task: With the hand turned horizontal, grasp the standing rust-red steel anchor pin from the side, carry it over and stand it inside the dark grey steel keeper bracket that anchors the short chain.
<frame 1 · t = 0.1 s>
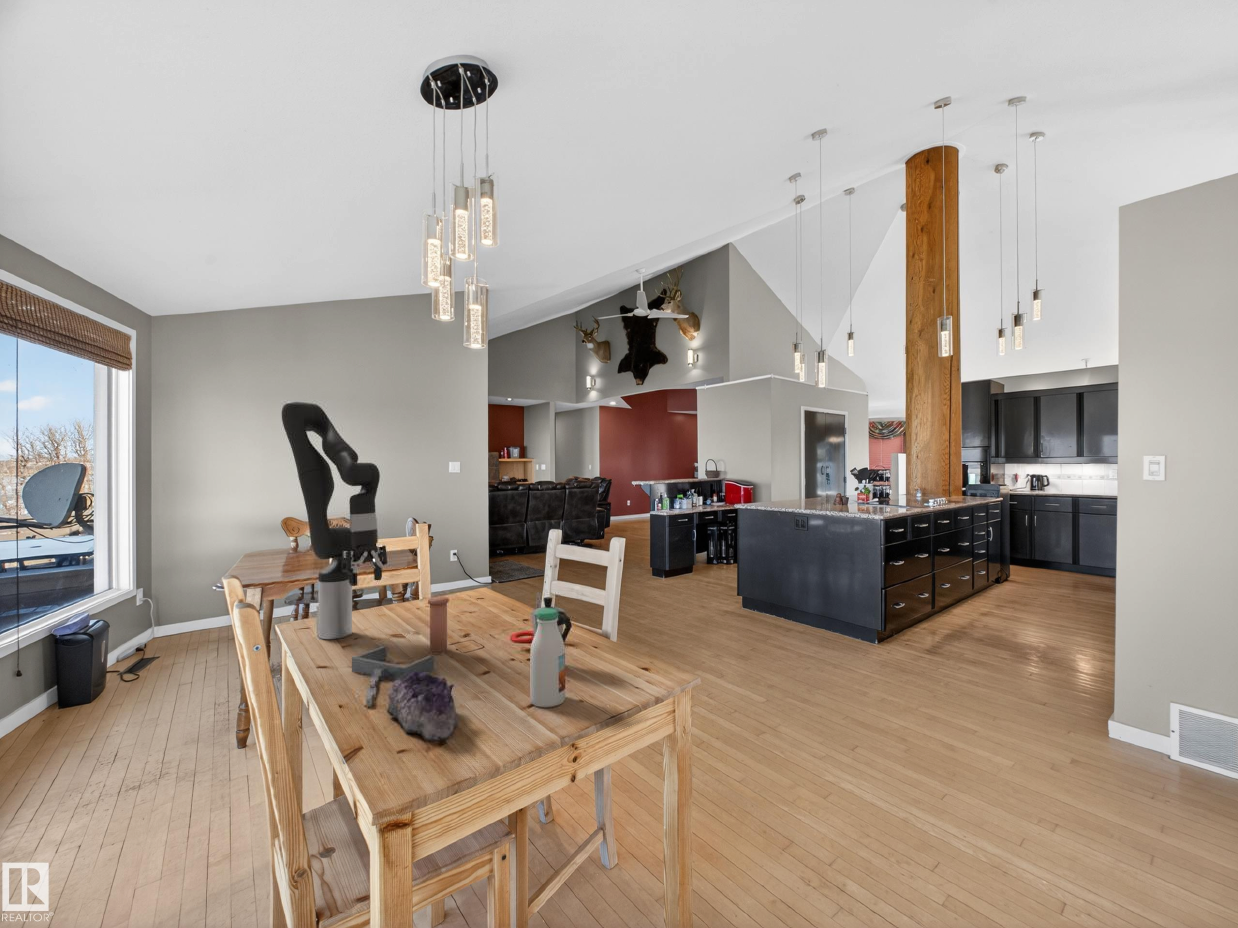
hand: (366, 583, 164), 17 cm above the table, fingers open, 8 cm apart
coffee maker: (551, 669, 141), on the table
keeper bracket: (393, 670, 140), on the table
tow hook: (526, 639, 166), on the table
chain: (374, 682, 133), on the table
milk bottle: (547, 701, 121), on the table
anchor pin: (438, 651, 155), on the table
geode: (427, 723, 112), on the table
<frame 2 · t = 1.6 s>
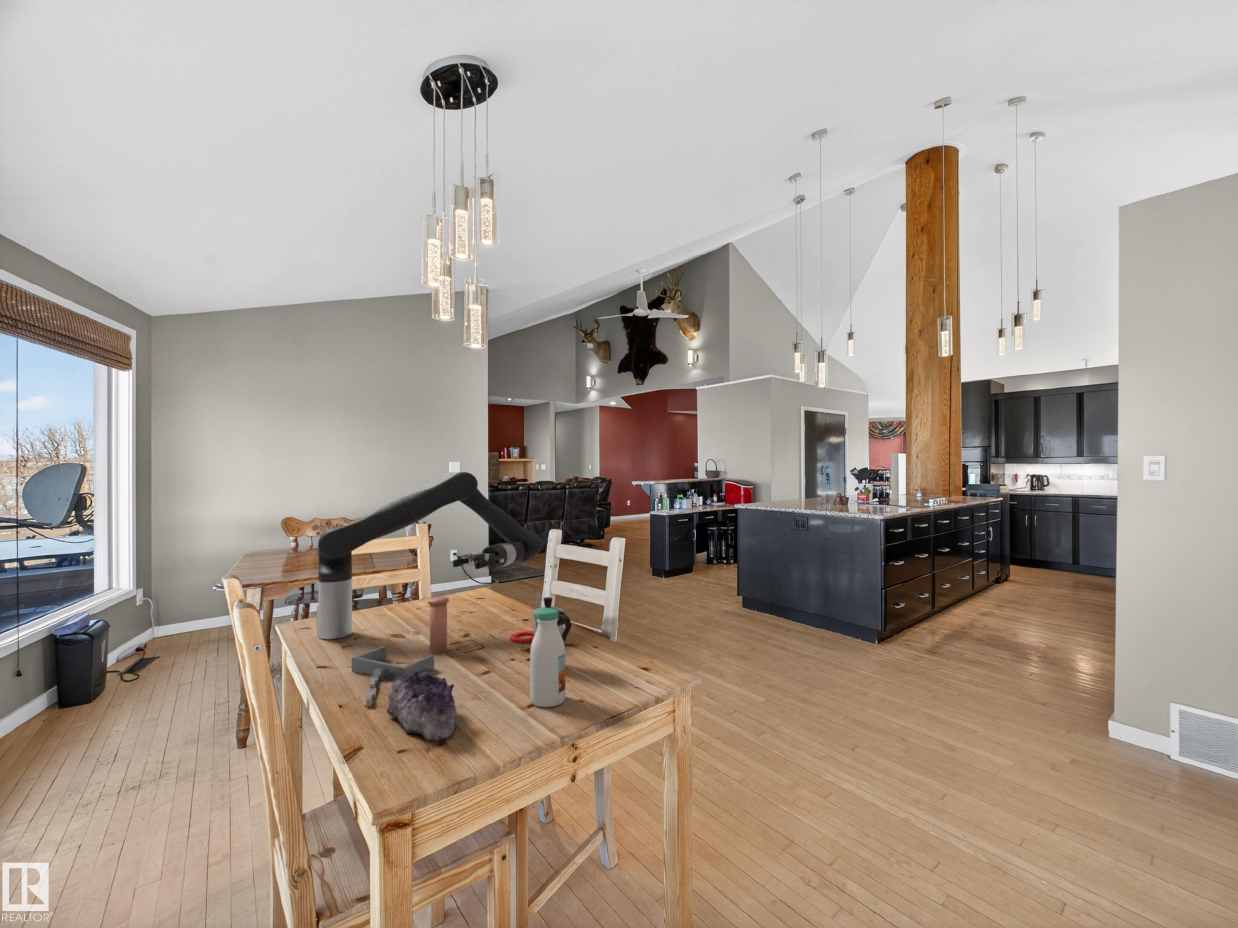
hand: (464, 564, 164), 23 cm above the table, fingers open, 8 cm apart
nothing on the table moved.
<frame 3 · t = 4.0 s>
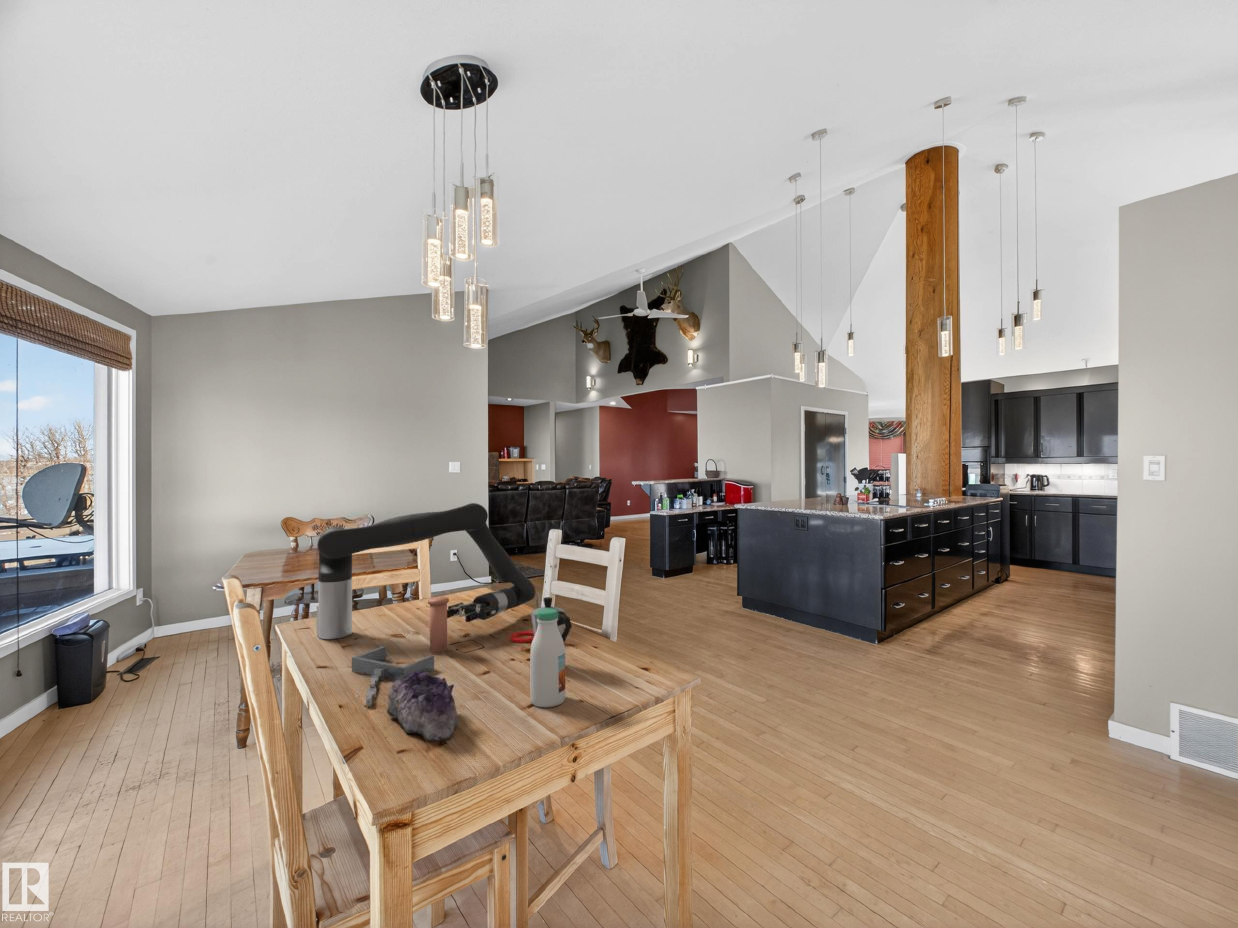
hand: (455, 617, 161), 8 cm above the table, fingers open, 8 cm apart
nothing on the table moved.
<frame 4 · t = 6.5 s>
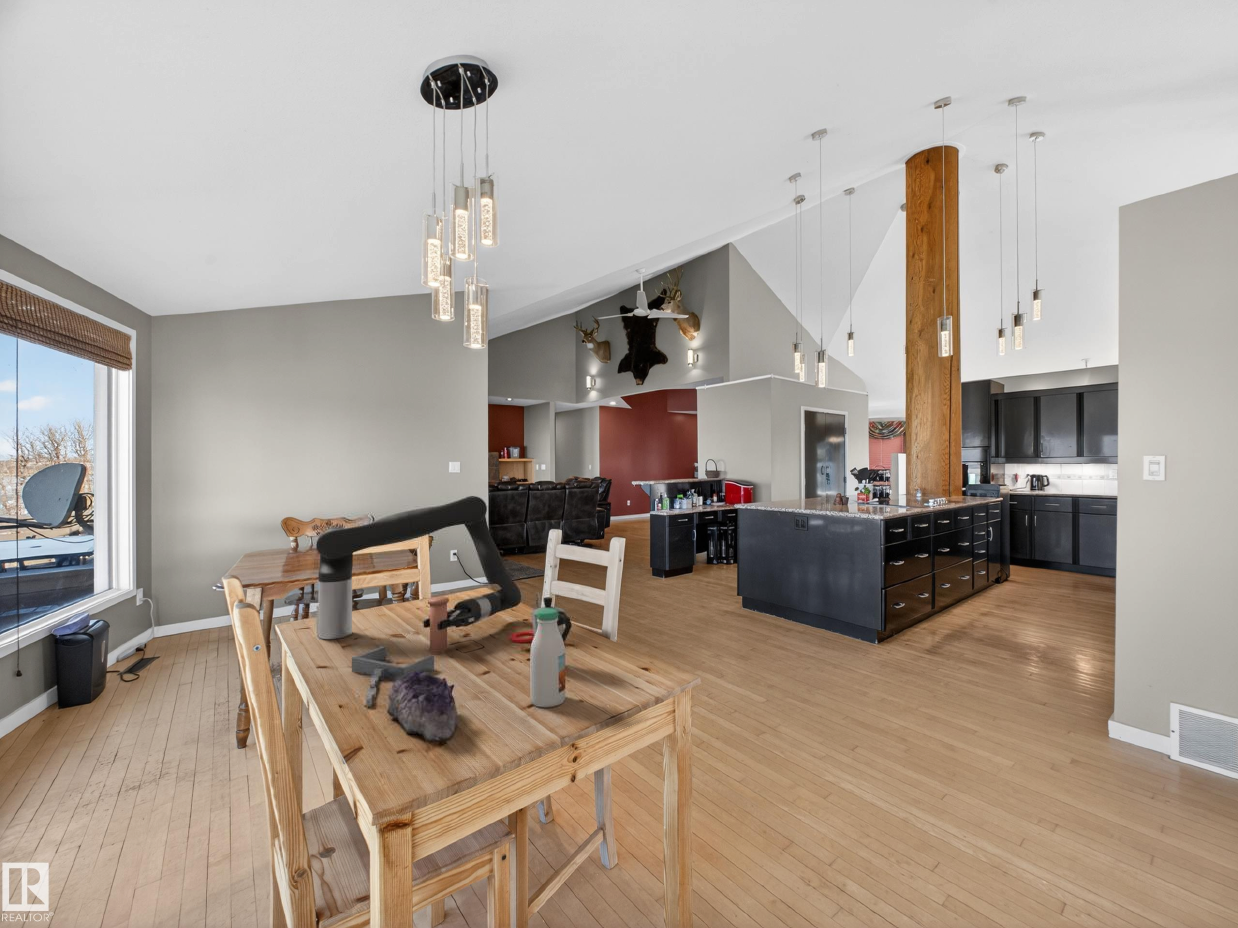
hand: (431, 625, 152), 8 cm above the table, fingers closed on anchor pin, 4 cm apart
anchor pin: (438, 651, 155), on the table, touching gripper
everything else where it was.
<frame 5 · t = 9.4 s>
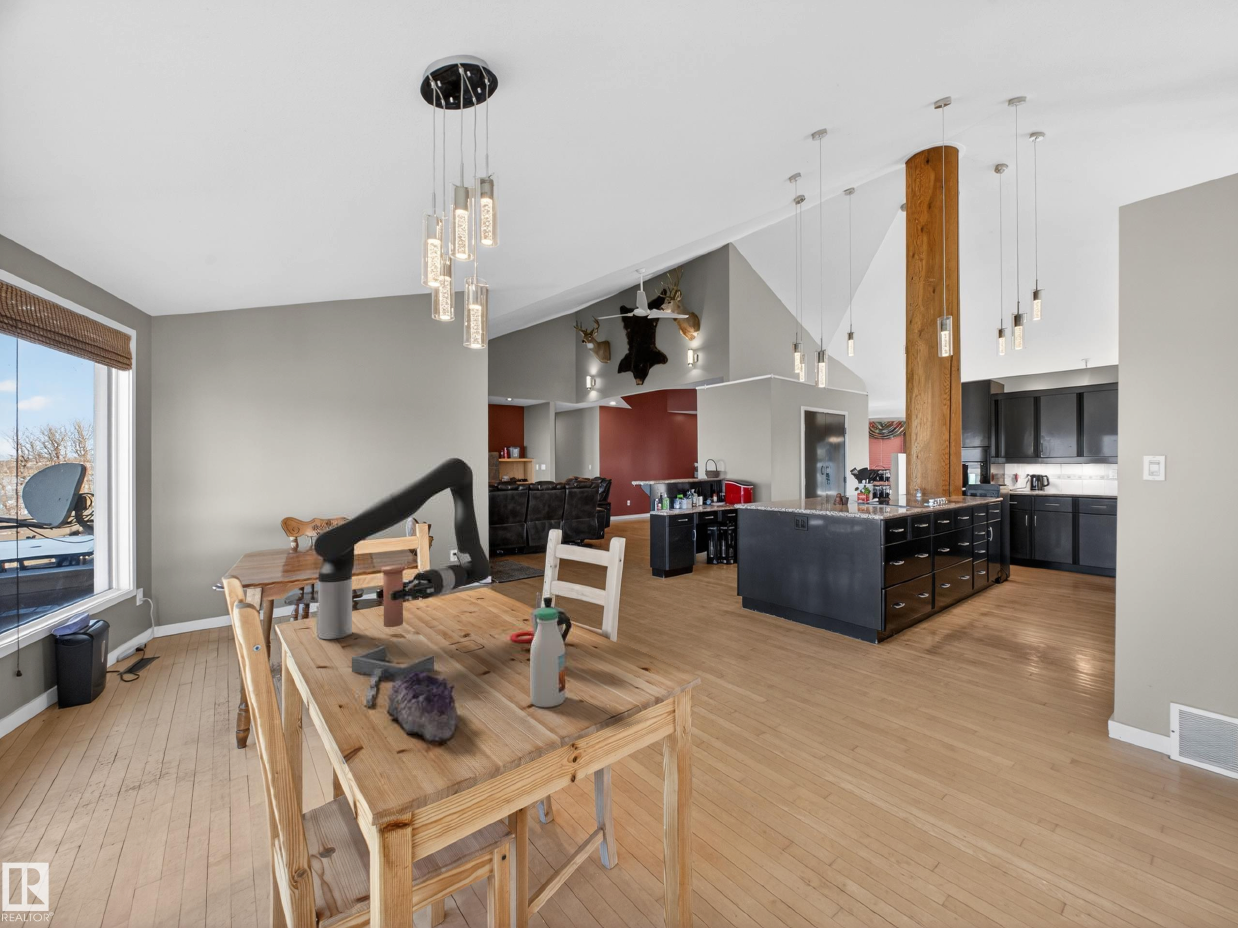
hand: (384, 595, 138), 20 cm above the table, fingers closed on anchor pin, 4 cm apart
anchor pin: (393, 624, 140), point 12 cm above the table, touching gripper
everything else where it was.
when the fingers open (10 cm above the table, at t = 12.0 s): anchor pin drops 2 cm, on the table.
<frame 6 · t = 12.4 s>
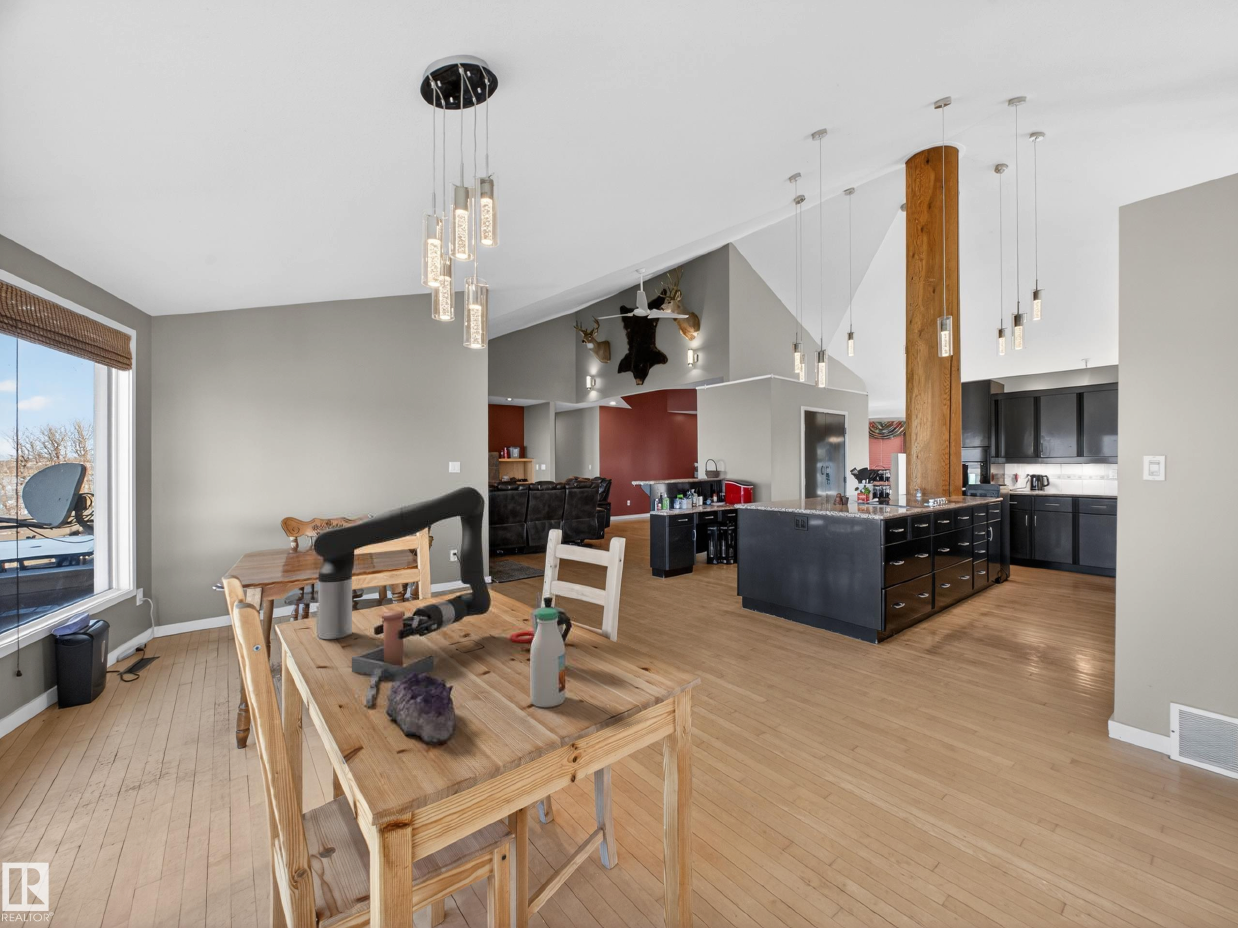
hand: (387, 633, 139), 10 cm above the table, fingers open, 8 cm apart
anchor pin: (393, 670, 140), on the table
everything else where it was.
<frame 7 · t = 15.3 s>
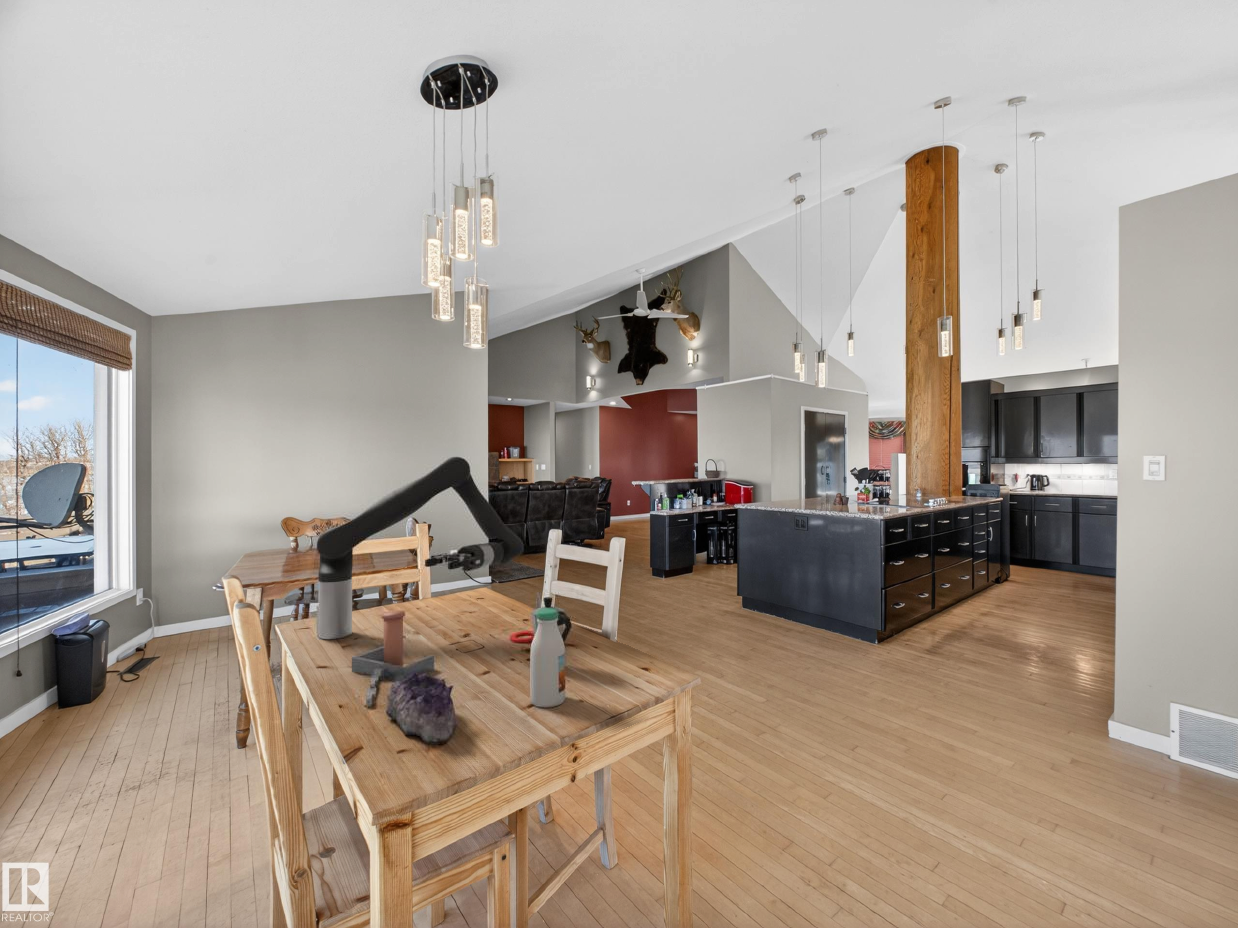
hand: (437, 564, 155), 24 cm above the table, fingers open, 8 cm apart
nothing on the table moved.
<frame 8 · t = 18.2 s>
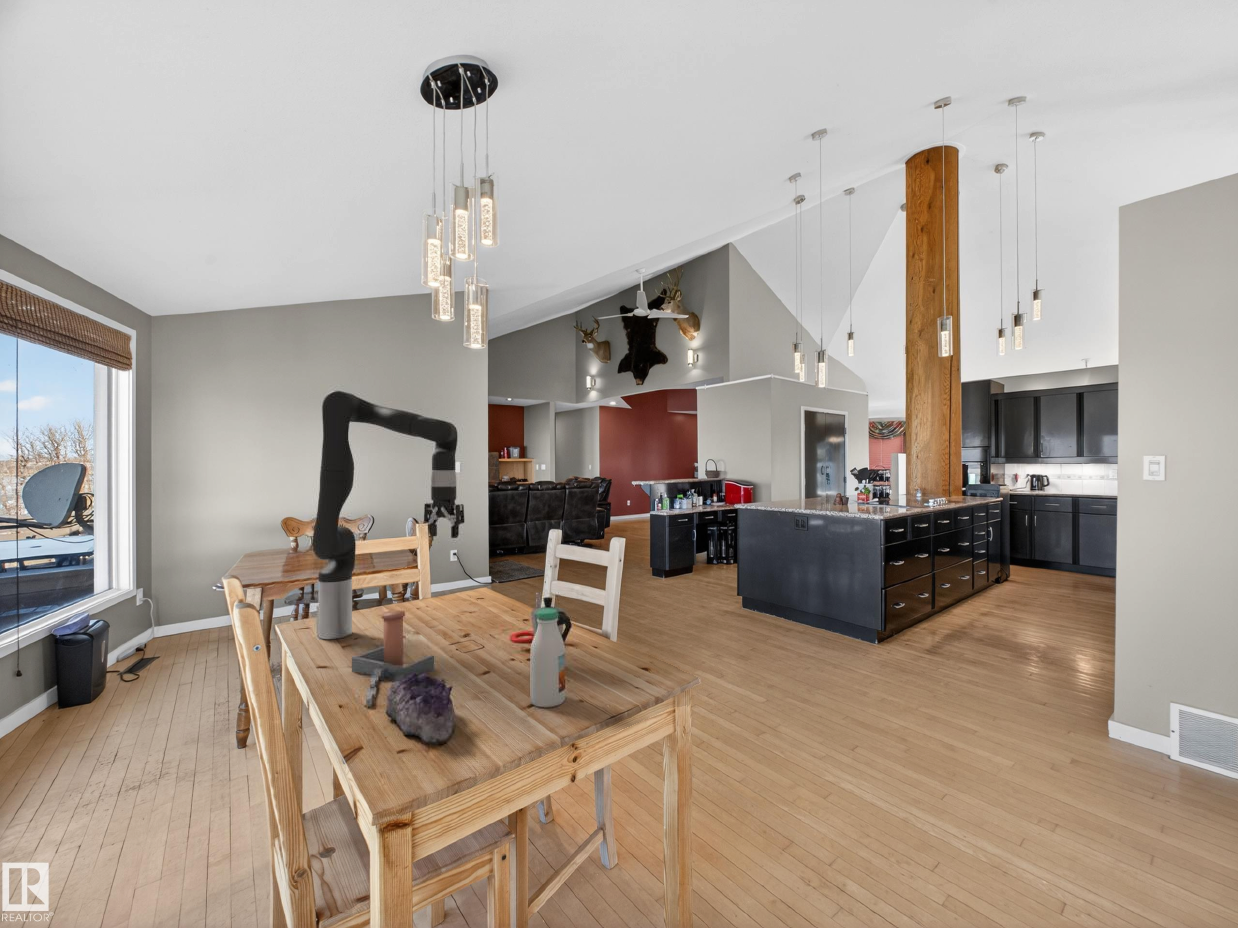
hand: (444, 537, 171), 30 cm above the table, fingers open, 8 cm apart
nothing on the table moved.
at the end: anchor pin inside the target area (0.2 cm from its centre), on the table; anchor pin tilted 0°; the gripper is holding nothing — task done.
